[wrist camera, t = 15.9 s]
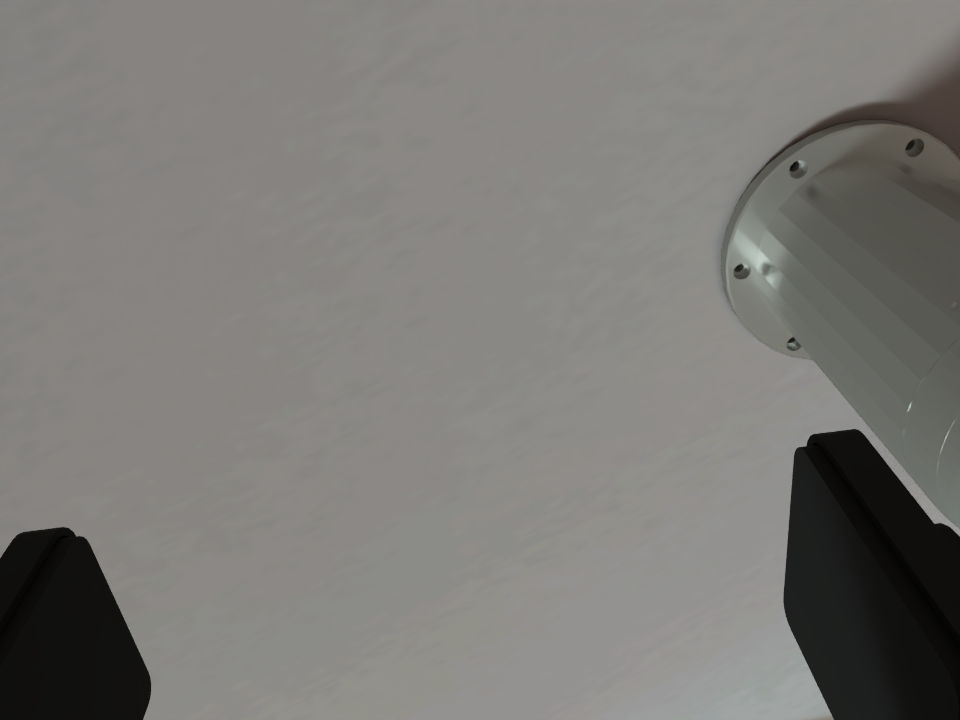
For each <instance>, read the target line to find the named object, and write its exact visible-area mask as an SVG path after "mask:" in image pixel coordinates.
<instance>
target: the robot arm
mask: <svg viewBox="0 0 960 720" xmlns="http://www.w3.org/2000/svg"><path fill="white" fill-rule="evenodd" d="M908 143H909V145H908V146H907V144H908ZM906 146H907V147H906ZM794 162H796V164H795V166H794V167H793V168H791V169H790V166H791V165H792V164H793V163H794ZM739 264H740V266H739V267H738V268H736V269H735V267H736V266H737V265H739ZM721 276H722V281H723V287H724V292H725V295H726V297H727V299H728V301H729V304H730V306H731V308H732V310H733V312H734V313H735V314H736V316H737V317H738V319H739V320H740V322H741V323H742V325H743V326H744V327H745V328H746V329H747V330H748V331H749V332H750V333H751V334H752V335H753V336H754V337H755V338H756V339H757V340H758V341H760V342H761V343H763V344H765V345H766V346H768V347H769V348H771V349H772V350H775V351H777V352H779V353H782V354H784V355H787V356H790V357H796V358H802V359H808V360H813V361H814V362H815V363H816V364H817V365H818V367H819V368H820V369H821V370H822V371H823V373H824V374H825V375H826V376H827V377H828V379H829V380H830V381H831V382H832V383H833V385H834V386H835V387H836V388H837V389H838V391H839V392H840V393H841V394H842V395H843V397H844V398H845V399H846V400H847V401H848V402H849V404H850V405H851V406H852V407H853V408H854V410H855V411H856V412H857V413H858V414H859V416H860V417H861V418H862V419H863V420H864V422H865V423H866V424H867V425H868V426H869V428H870V429H871V430H872V431H873V432H874V434H875V435H876V436H877V437H878V438H879V440H880V441H881V442H882V443H883V444H884V446H885V447H886V448H887V449H888V450H889V452H890V453H891V454H892V455H893V456H894V457H895V459H896V460H897V461H898V462H899V463H900V465H901V466H902V467H903V468H904V469H905V471H906V472H907V473H908V474H909V475H910V477H911V478H912V479H913V480H914V481H915V483H916V484H917V485H918V486H919V487H920V489H921V490H922V491H923V492H924V493H925V495H926V496H927V497H928V498H929V499H930V501H931V502H932V503H933V504H934V505H935V506H936V508H937V509H938V510H939V511H940V512H941V513H942V514H943V515H944V516H945V517H946V518H947V519H948V520H949V521H951V522H952V523H953V524H954V525H955V526H957V527H958V528H959V529H960V159H959V157H958V156H957V155H956V154H955V153H954V152H953V151H952V150H951V149H950V148H949V147H948V146H947V145H946V144H944V143H943V142H941V141H940V140H938V139H937V138H935V137H933V136H932V135H930V134H929V133H926V132H924V131H922V130H920V129H917V128H915V127H913V126H911V125H907V124H902V123H898V122H893V121H889V120H859V121H854V122H849V123H843V124H838V125H835V126H832V127H829V128H827V129H824V130H821V131H819V132H816V133H814V134H811V135H810V136H808V137H806V138H804V139H803V140H801V141H799V142H797V143H796V144H794V145H792V146H790V147H789V148H787V149H786V150H785V151H784V152H783V153H781V154H780V155H779V156H778V157H776V158H775V159H774V160H773V161H771V162H770V163H769V164H768V165H767V166H766V167H765V168H764V169H763V170H762V171H761V172H760V174H759V175H758V176H757V177H756V178H755V179H754V180H753V181H752V183H751V184H750V185H749V186H748V188H747V190H746V191H745V193H744V194H743V196H742V197H741V199H740V200H739V202H738V204H737V205H736V207H735V209H734V212H733V214H732V216H731V219H730V221H729V223H728V226H727V228H726V232H725V237H724V241H723V246H722V250H721ZM784 609H785V613H786V617H787V621H788V624H789V626H790V628H791V631H792V633H793V635H794V637H795V639H796V641H797V643H798V645H799V647H800V649H801V651H802V654H803V656H804V658H805V660H806V662H807V664H808V666H809V668H810V670H811V672H812V674H813V677H814V679H815V681H816V683H817V685H818V687H819V689H820V691H821V693H822V695H823V697H824V700H825V702H826V704H827V706H828V708H829V710H830V712H831V714H832V716H833V718H834V720H960V537H959V536H958V535H957V534H956V533H955V532H954V531H953V530H952V529H951V528H950V527H948V526H946V525H944V524H942V523H938V524H934V523H933V522H932V520H931V519H930V518H929V517H928V515H927V514H926V513H925V512H924V510H923V509H922V508H921V506H920V505H919V504H918V503H917V501H916V500H915V499H914V498H913V496H912V495H911V494H910V493H909V491H908V490H907V489H906V487H905V486H904V485H903V484H902V482H901V481H900V480H899V479H898V477H897V476H896V475H895V473H894V472H893V471H892V470H891V468H890V467H889V466H888V465H887V463H886V462H885V461H884V460H883V458H882V457H881V456H880V454H879V453H878V452H877V451H876V449H875V448H874V447H873V446H872V444H871V443H870V442H869V440H868V439H867V438H866V437H865V435H864V434H863V433H862V432H860V431H859V430H856V429H852V430H844V431H836V432H828V433H820V434H813V435H811V436H810V438H809V440H808V443H807V446H806V447H799V448H797V449H796V451H795V455H794V465H793V478H792V492H791V505H790V518H789V531H788V545H787V558H786V571H785V585H784ZM150 695H151V680H150V675H149V672H148V670H147V668H146V666H145V664H144V661H143V659H142V657H141V655H140V653H139V650H138V648H137V646H136V644H135V642H134V640H133V637H132V635H131V633H130V631H129V629H128V627H127V624H126V622H125V620H124V618H123V616H122V614H121V611H120V609H119V607H118V605H117V603H116V600H115V598H114V596H113V594H112V592H111V590H110V587H109V585H108V583H107V581H106V579H105V577H104V574H103V572H102V570H101V568H100V566H99V563H98V561H97V559H96V557H95V555H94V553H93V550H92V548H91V546H90V544H89V542H88V541H87V539H85V538H84V537H81V536H78V537H76V535H75V534H74V532H73V531H72V530H70V529H69V528H65V527H61V528H53V529H45V530H37V531H29V532H23V533H20V534H18V535H17V536H16V537H15V538H14V539H13V540H12V542H11V543H10V545H9V546H8V548H7V549H6V551H5V552H4V554H3V555H2V557H1V558H0V720H143V718H144V715H145V712H146V710H147V707H148V704H149V700H150Z"/></svg>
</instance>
